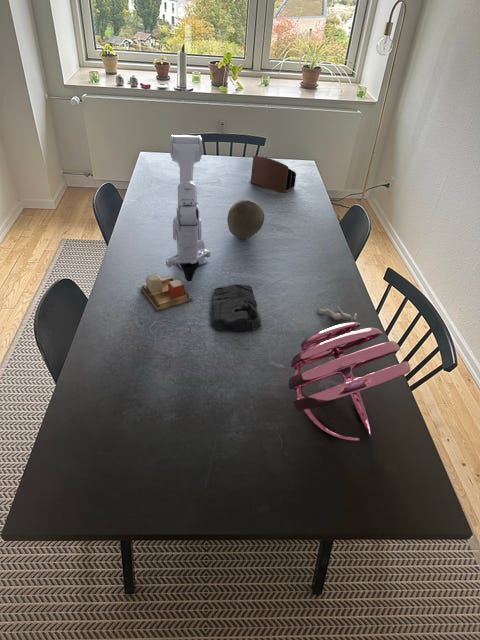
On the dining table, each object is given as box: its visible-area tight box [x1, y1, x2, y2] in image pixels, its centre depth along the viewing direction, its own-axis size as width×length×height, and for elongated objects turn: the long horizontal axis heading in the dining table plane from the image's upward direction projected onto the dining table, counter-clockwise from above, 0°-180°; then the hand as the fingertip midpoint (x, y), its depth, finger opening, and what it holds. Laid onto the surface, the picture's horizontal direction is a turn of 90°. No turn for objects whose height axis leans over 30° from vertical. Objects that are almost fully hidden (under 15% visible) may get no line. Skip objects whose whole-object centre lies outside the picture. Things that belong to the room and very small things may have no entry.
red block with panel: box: [168, 279, 185, 299], centre depth 146 cm, size 4×4×5 cm
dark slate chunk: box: [210, 283, 262, 332], centre depth 144 cm, size 15×22×5 cm
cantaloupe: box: [226, 198, 265, 239], centre depth 178 cm, size 14×14×15 cm
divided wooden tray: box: [140, 275, 192, 312], centre depth 148 cm, size 12×13×2 cm
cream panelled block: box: [145, 273, 163, 293], centre depth 148 cm, size 4×4×5 cm
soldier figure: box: [317, 305, 358, 322], centre depth 144 cm, size 8×5×12 cm
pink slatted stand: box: [288, 321, 411, 442], centre depth 106 cm, size 28×28×27 cm
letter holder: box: [250, 155, 297, 195], centre depth 219 cm, size 10×20×14 cm, turn 55°
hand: (188, 280), depth 146 cm, fingers closed
